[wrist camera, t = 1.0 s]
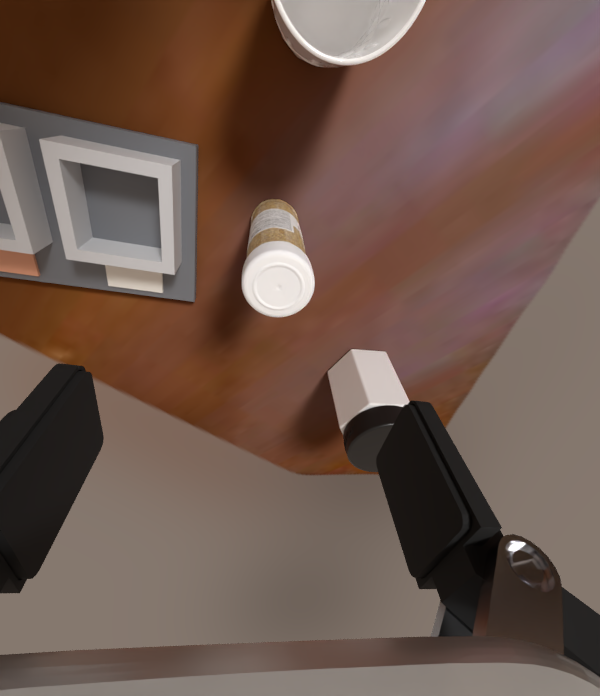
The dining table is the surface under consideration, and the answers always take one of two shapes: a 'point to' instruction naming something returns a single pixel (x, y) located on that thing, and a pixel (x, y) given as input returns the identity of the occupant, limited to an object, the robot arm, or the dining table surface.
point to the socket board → (96, 205)
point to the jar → (365, 403)
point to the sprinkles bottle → (276, 262)
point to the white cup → (343, 28)
